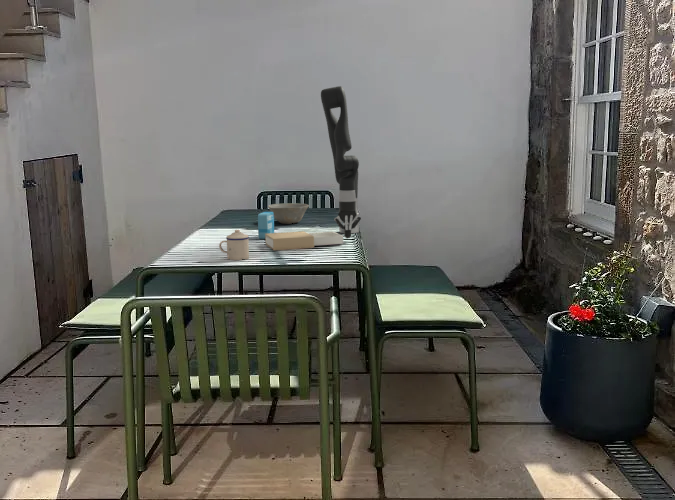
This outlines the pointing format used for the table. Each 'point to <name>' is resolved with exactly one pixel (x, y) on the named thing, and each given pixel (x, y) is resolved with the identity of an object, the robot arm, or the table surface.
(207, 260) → the table surface
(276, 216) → the ceramic bowl
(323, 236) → the tray
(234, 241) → the teacup with lid
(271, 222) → the data package
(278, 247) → the mailer sleeve
